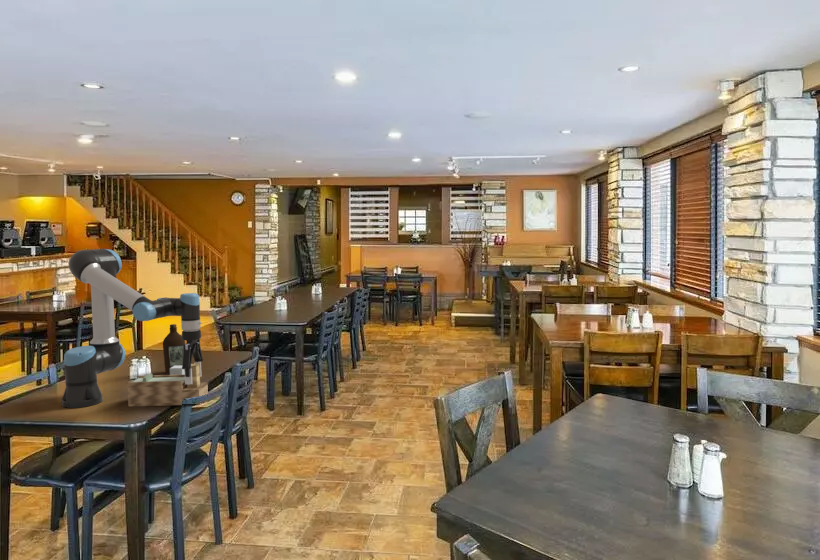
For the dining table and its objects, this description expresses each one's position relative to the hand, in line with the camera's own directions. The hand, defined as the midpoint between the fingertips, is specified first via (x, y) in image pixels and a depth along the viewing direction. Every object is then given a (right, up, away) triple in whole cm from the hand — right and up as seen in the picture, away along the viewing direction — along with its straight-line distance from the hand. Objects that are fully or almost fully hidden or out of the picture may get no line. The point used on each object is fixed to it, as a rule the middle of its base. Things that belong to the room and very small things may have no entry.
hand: (193, 380), depth 249 cm
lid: (-14, -1, -1) cm, 14 cm away
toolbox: (-10, -9, 0) cm, 14 cm away
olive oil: (-28, -5, +51) cm, 59 cm away
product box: (-19, -7, +34) cm, 40 cm away
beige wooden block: (0, -3, 0) cm, 3 cm away
